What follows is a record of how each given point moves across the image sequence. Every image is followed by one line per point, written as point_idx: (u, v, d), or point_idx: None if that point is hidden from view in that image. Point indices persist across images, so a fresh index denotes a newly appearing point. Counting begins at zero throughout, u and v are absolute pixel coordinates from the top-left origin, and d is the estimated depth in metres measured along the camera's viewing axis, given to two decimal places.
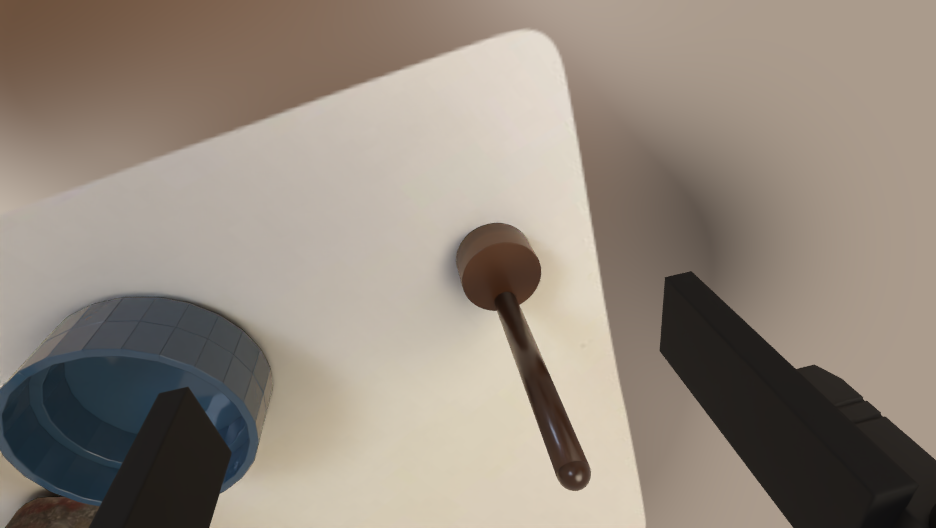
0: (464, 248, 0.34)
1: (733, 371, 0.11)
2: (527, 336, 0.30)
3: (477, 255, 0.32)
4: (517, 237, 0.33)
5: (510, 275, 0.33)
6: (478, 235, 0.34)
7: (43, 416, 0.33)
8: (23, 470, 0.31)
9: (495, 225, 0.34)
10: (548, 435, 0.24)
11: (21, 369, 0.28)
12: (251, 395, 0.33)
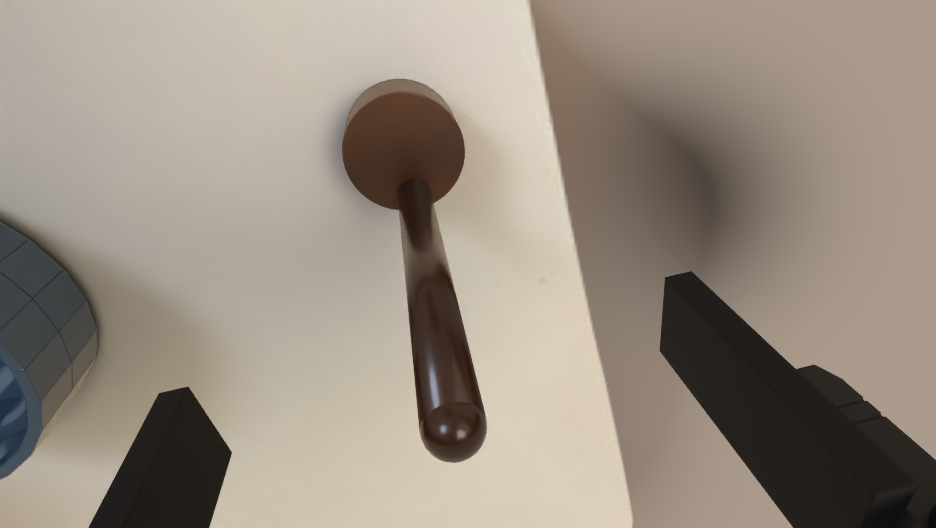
0: (350, 113, 0.23)
1: (733, 371, 0.11)
2: (427, 226, 0.19)
3: (361, 113, 0.21)
4: (427, 92, 0.22)
5: (416, 150, 0.22)
6: (370, 91, 0.22)
7: None
8: None
9: (397, 80, 0.23)
10: (418, 361, 0.13)
11: None
12: (21, 329, 0.22)
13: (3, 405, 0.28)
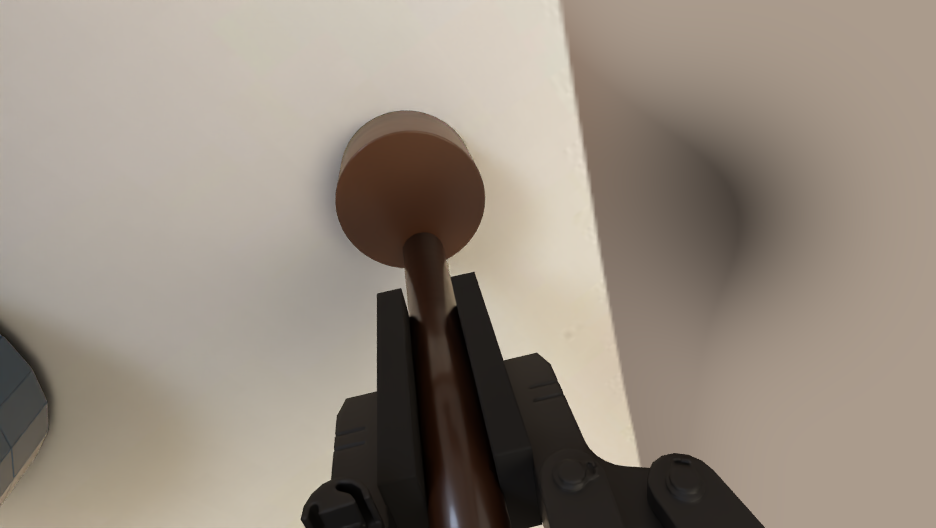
0: (346, 153, 0.19)
1: (469, 358, 0.12)
2: (441, 306, 0.15)
3: (359, 156, 0.17)
4: (439, 129, 0.18)
5: (426, 199, 0.18)
6: (370, 127, 0.18)
7: None
8: None
9: (402, 113, 0.19)
10: None
11: None
12: None
13: None
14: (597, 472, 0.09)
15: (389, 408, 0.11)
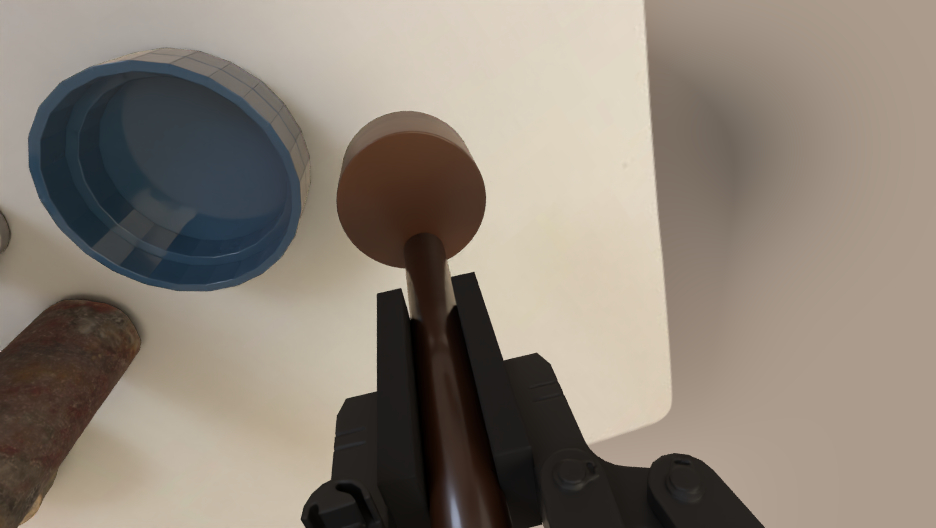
0: (347, 153, 0.19)
1: (469, 358, 0.12)
2: (443, 306, 0.15)
3: (360, 157, 0.17)
4: (441, 129, 0.18)
5: (427, 199, 0.18)
6: (371, 127, 0.18)
7: (78, 174, 0.31)
8: (58, 220, 0.30)
9: (403, 113, 0.19)
10: None
11: (64, 80, 0.26)
12: (295, 156, 0.32)
13: (234, 240, 0.38)
14: (597, 472, 0.09)
15: (389, 408, 0.11)
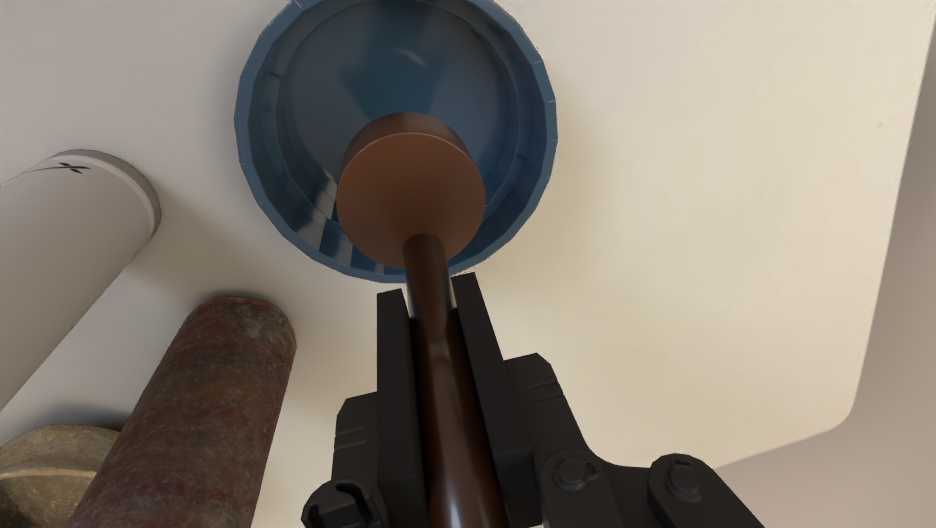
0: (346, 154, 0.19)
1: (469, 358, 0.12)
2: (442, 307, 0.15)
3: (360, 157, 0.17)
4: (440, 130, 0.18)
5: (427, 200, 0.18)
6: (371, 128, 0.18)
7: (271, 134, 0.24)
8: (257, 191, 0.23)
9: (403, 114, 0.19)
10: None
11: None
12: None
13: None
14: (597, 472, 0.09)
15: (389, 408, 0.11)
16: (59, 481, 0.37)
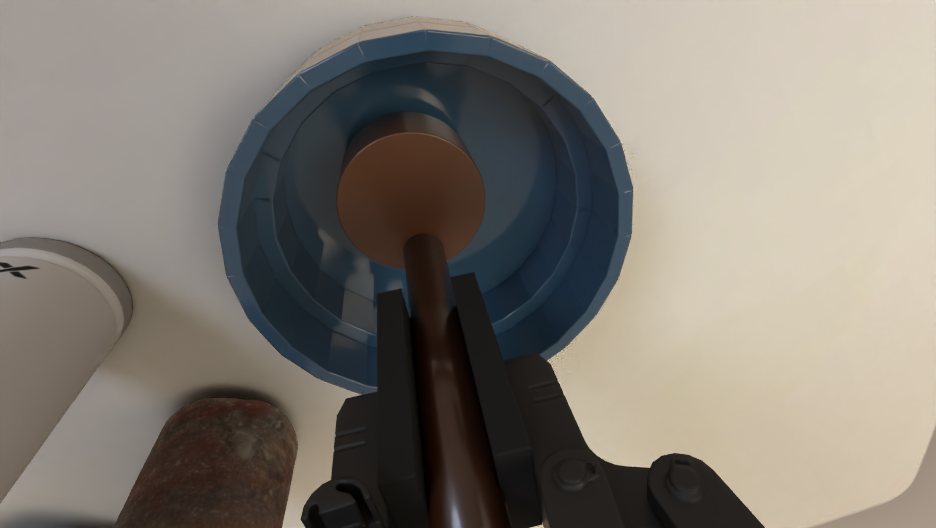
0: (347, 153, 0.19)
1: (469, 358, 0.12)
2: (442, 307, 0.15)
3: (360, 157, 0.17)
4: (441, 130, 0.18)
5: (427, 200, 0.18)
6: (371, 128, 0.18)
7: (268, 226, 0.19)
8: (250, 306, 0.18)
9: (403, 114, 0.19)
10: None
11: (305, 69, 0.14)
12: None
13: None
14: (597, 472, 0.09)
15: (389, 408, 0.11)
16: None
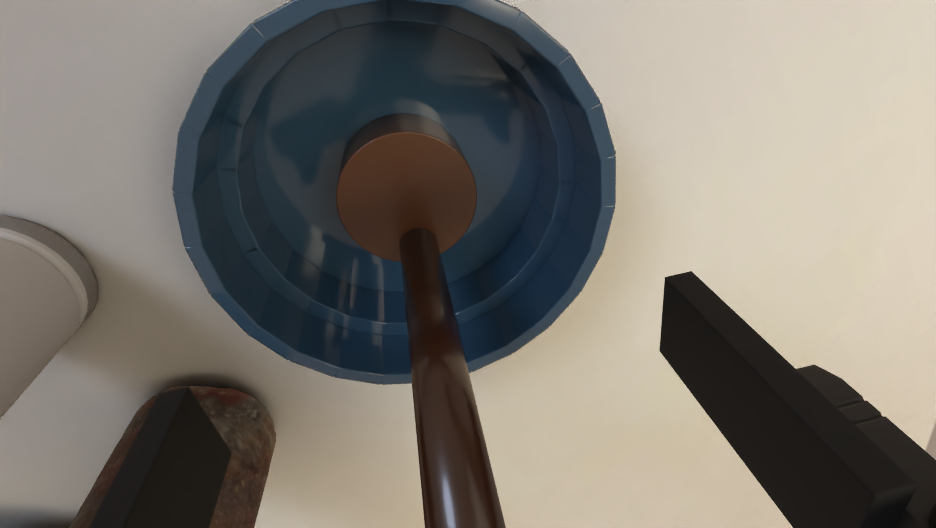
0: (346, 152, 0.20)
1: (733, 371, 0.11)
2: (435, 294, 0.16)
3: (358, 155, 0.18)
4: (434, 130, 0.19)
5: (422, 196, 0.19)
6: (369, 128, 0.19)
7: (233, 199, 0.18)
8: (211, 281, 0.17)
9: (399, 115, 0.20)
10: (430, 510, 0.10)
11: (259, 18, 0.13)
12: None
13: None
14: None
15: None
16: None
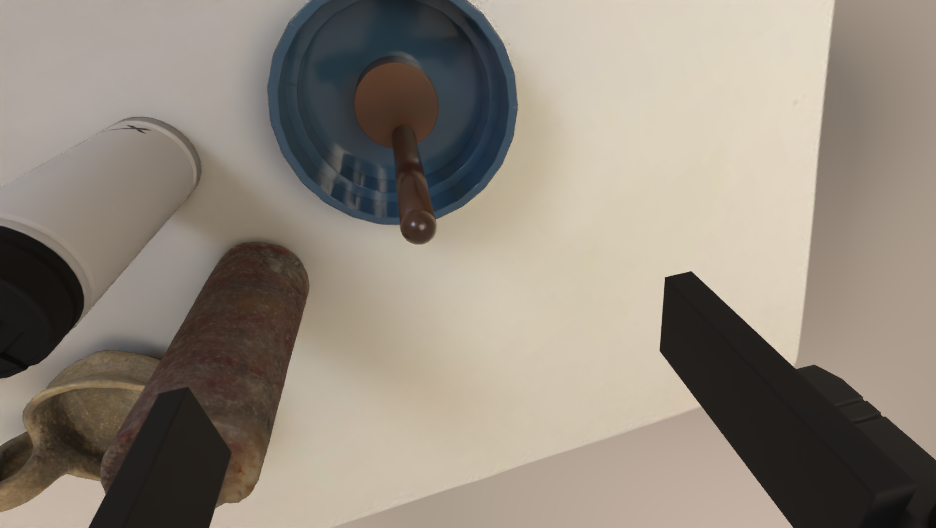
0: (359, 79, 0.33)
1: (733, 371, 0.11)
2: (410, 147, 0.29)
3: (367, 76, 0.31)
4: (412, 64, 0.32)
5: (405, 104, 0.32)
6: (373, 63, 0.32)
7: (293, 103, 0.31)
8: (283, 145, 0.30)
9: (392, 57, 0.33)
10: (400, 201, 0.23)
11: None
12: None
13: None
14: None
15: None
16: (107, 406, 0.43)
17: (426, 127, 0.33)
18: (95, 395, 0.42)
